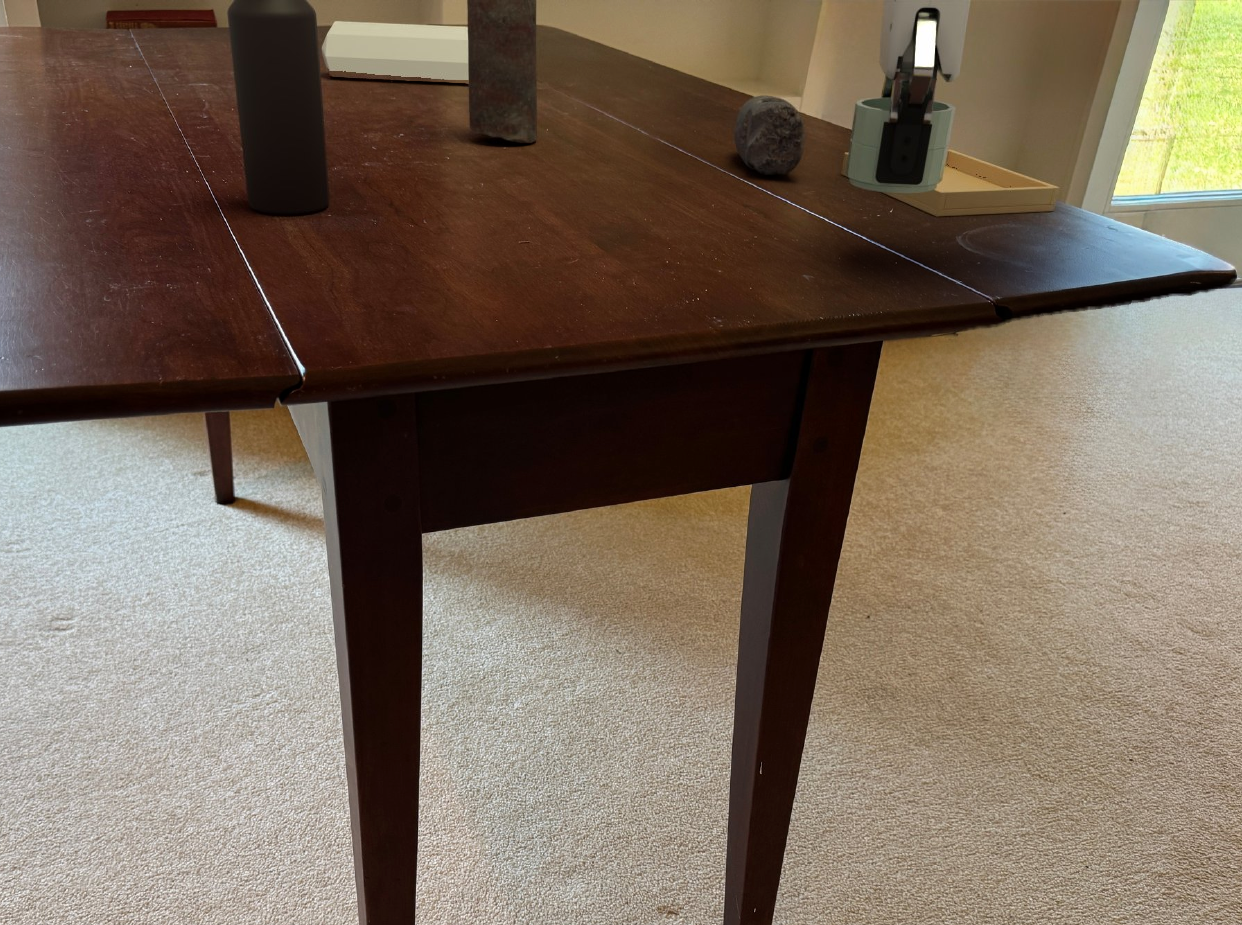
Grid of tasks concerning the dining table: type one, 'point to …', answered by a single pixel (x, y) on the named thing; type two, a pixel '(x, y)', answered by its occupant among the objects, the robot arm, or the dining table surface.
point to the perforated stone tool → (769, 135)
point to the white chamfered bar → (398, 50)
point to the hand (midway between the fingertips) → (894, 169)
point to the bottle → (280, 105)
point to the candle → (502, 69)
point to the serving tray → (979, 190)
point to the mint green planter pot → (868, 141)
